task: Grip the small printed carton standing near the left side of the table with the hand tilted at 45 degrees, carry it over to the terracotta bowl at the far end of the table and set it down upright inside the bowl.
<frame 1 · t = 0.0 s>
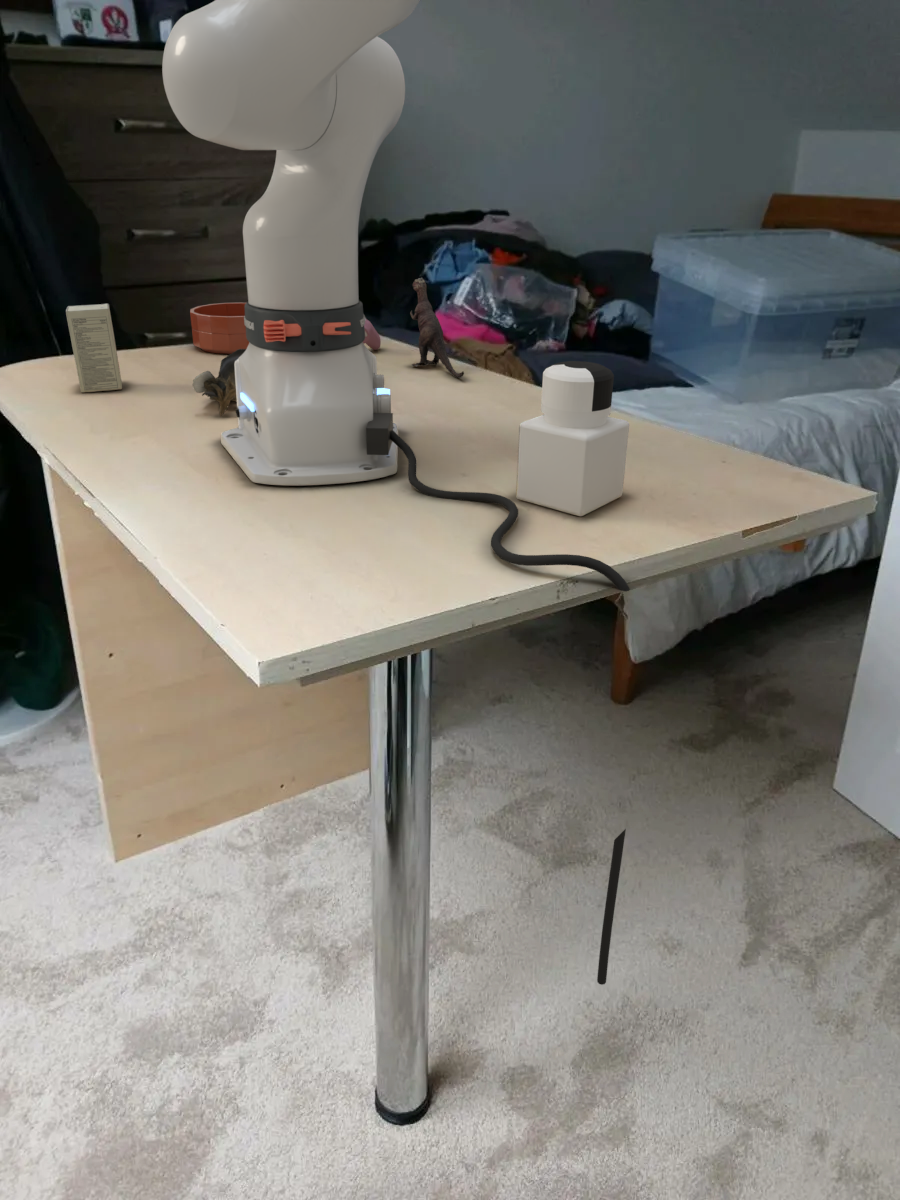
medicine bottle: (569, 500, 86), on the table
bowl: (238, 346, 145), on the table
dinosaur model: (439, 372, 131), on the table
printed carton: (101, 389, 120), on the table
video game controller: (346, 351, 143), on the table
eagle figurine: (231, 409, 113), on the table
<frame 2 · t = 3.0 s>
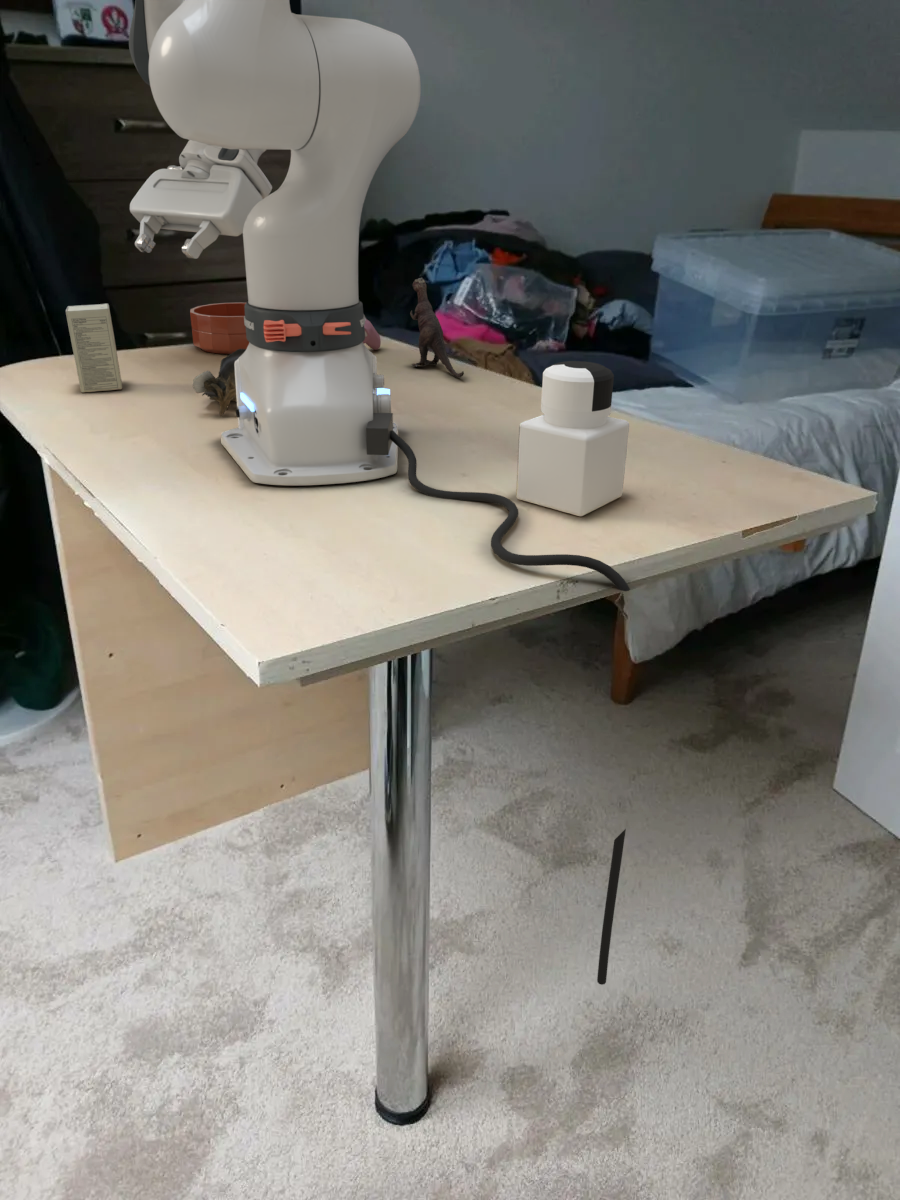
hand: (164, 252, 123), 15 cm above the table, tool tilted 45°, fingers open, 8 cm apart
nothing on the table moved.
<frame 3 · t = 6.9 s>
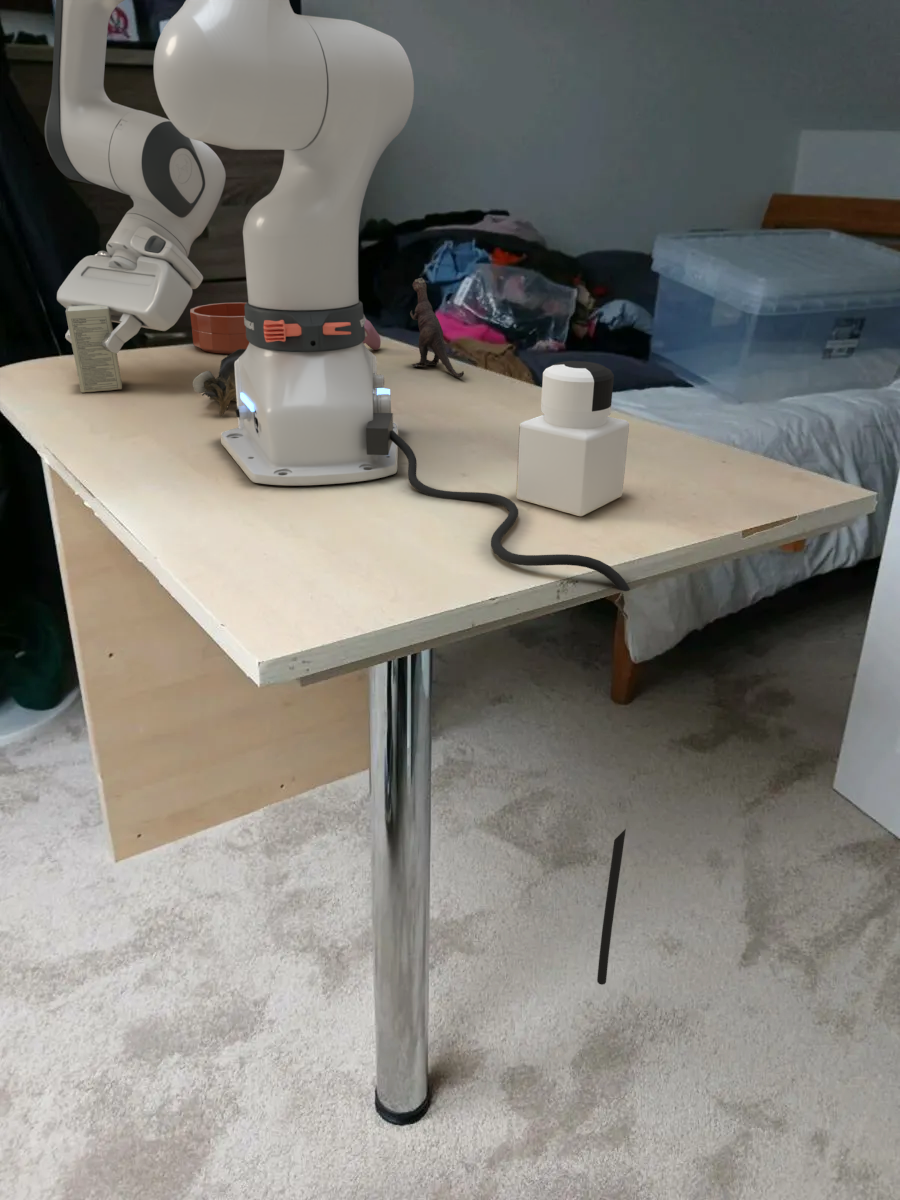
hand: (90, 345, 118), 5 cm above the table, tool tilted 45°, fingers closed on printed carton, 6 cm apart
printed carton: (101, 389, 120), on the table, touching gripper
everything else where it was.
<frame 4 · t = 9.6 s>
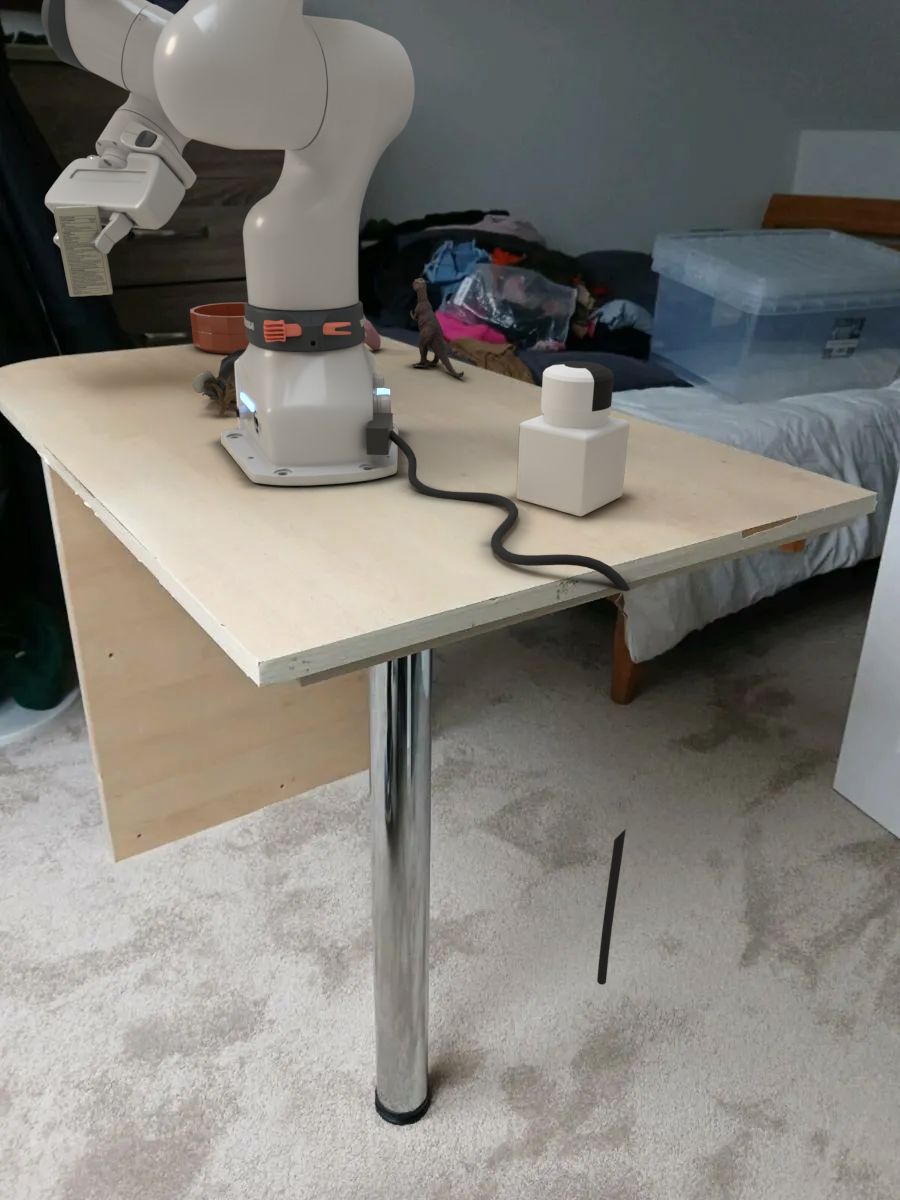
hand: (79, 247, 113), 17 cm above the table, tool tilted 45°, fingers closed on printed carton, 6 cm apart
printed carton: (91, 295, 116), point 11 cm above the table, touching gripper
everything else where it was.
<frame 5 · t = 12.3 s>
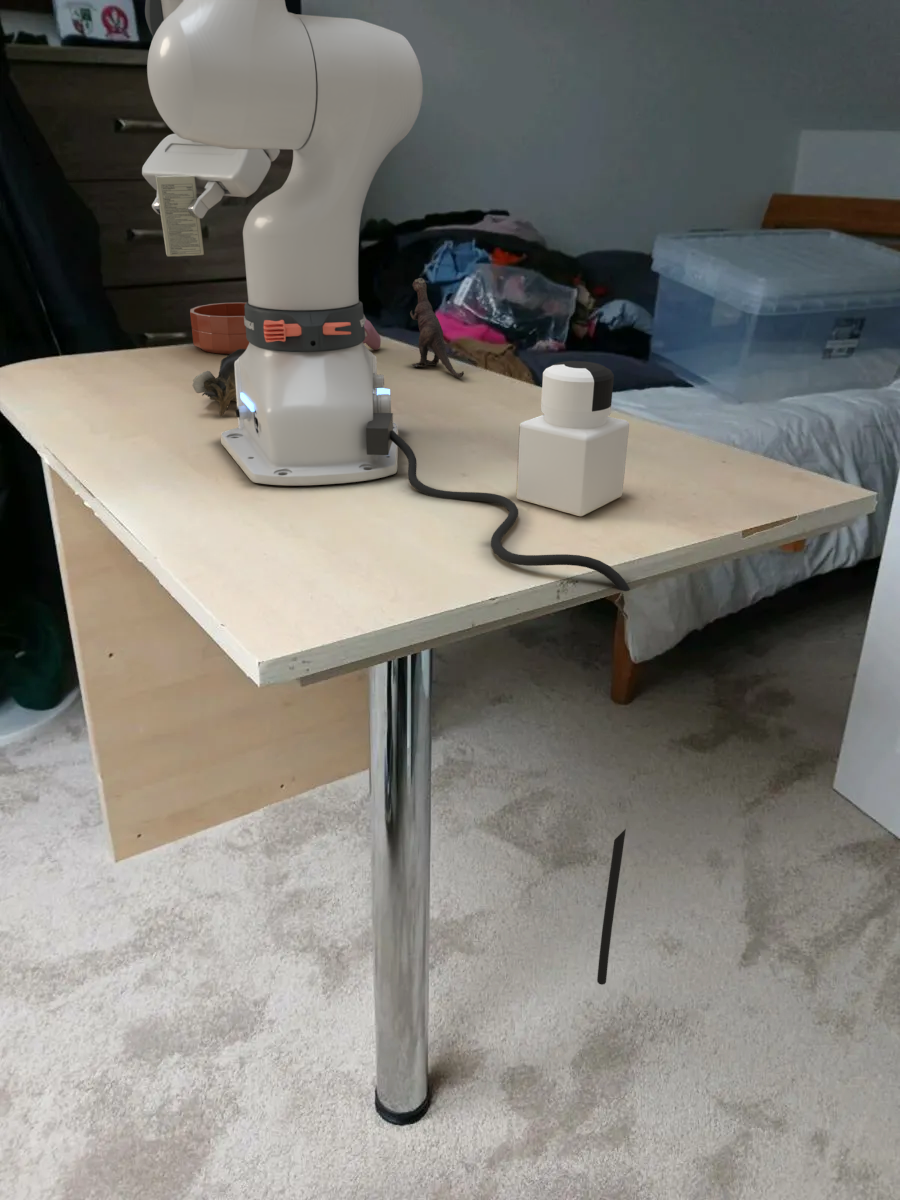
hand: (176, 213, 128), 20 cm above the table, tool tilted 45°, fingers closed on printed carton, 6 cm apart
printed carton: (184, 256, 131), point 14 cm above the table, touching gripper
everything else where it was.
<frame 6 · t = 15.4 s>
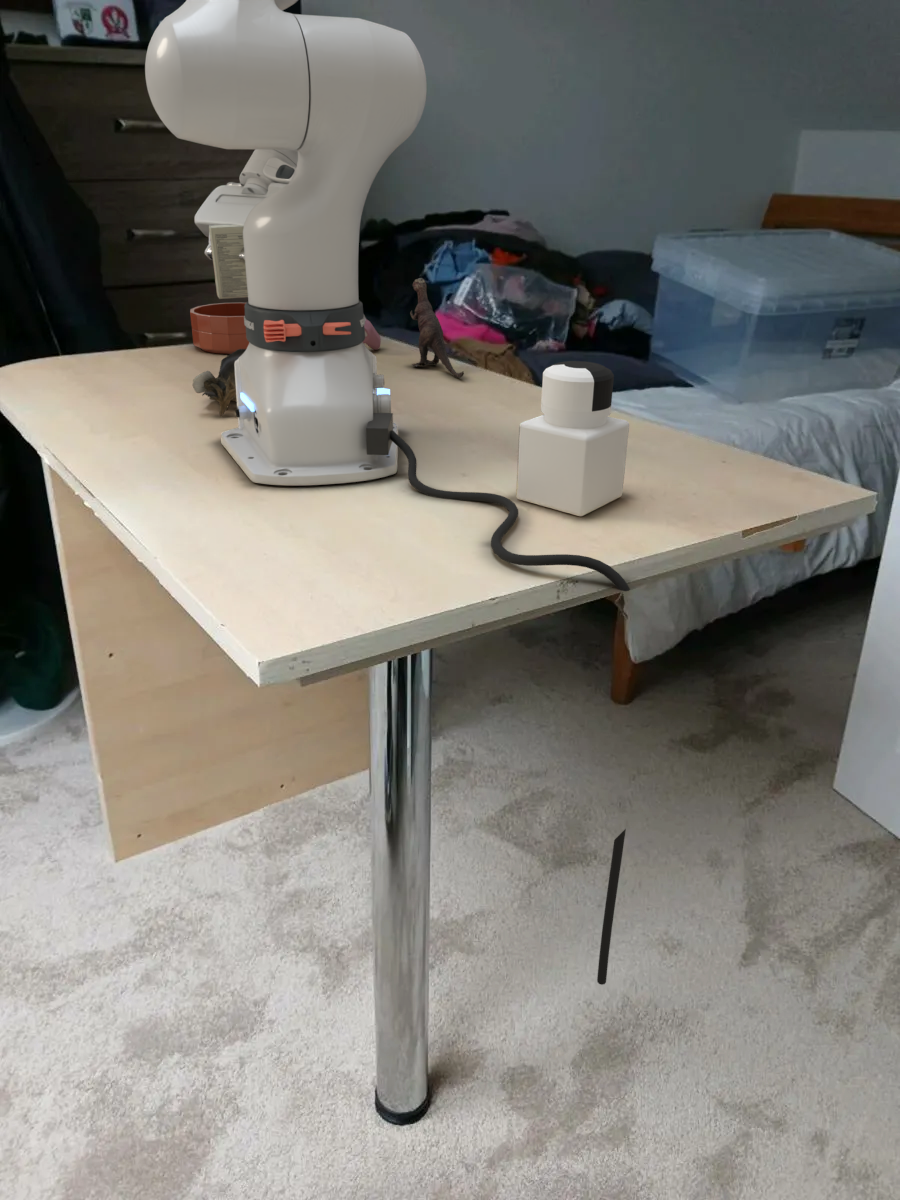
hand: (227, 259, 139), 13 cm above the table, tool tilted 45°, fingers closed on printed carton, 6 cm apart
printed carton: (233, 298, 142), point 7 cm above the table, touching gripper
everything else where it was.
when the fingers open (6 cm above the table, at t = 17.9 s): printed carton stays where it is, resting on bowl.
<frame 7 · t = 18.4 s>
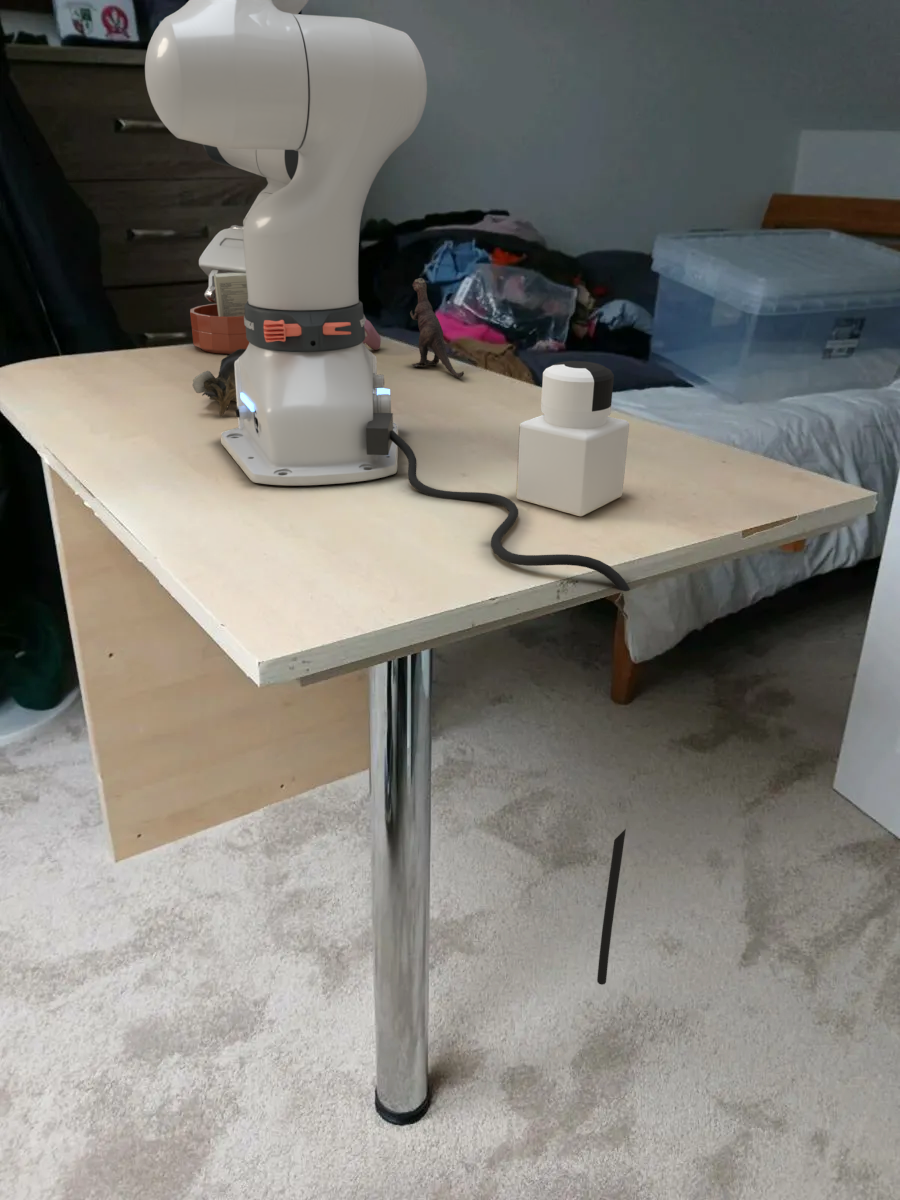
hand: (231, 302, 142), 7 cm above the table, tool tilted 45°, fingers open, 8 cm apart
printed carton: (237, 343, 145), resting on bowl
everything else where it was.
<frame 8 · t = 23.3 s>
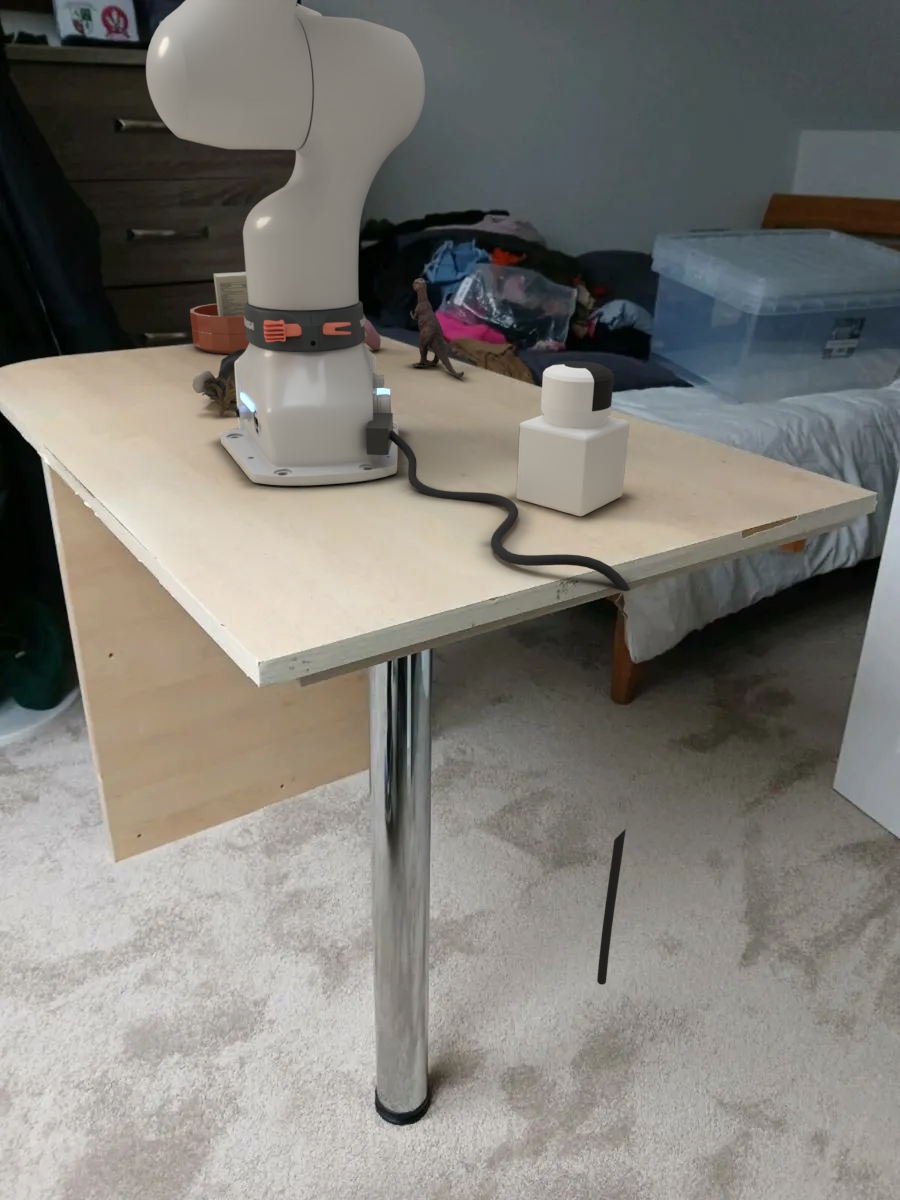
hand: (266, 136, 127), 29 cm above the table, tool pointing down, fingers open, 8 cm apart
nothing on the table moved.
at the end: printed carton inside the target area in the bowl (0.0 cm from its centre), point 0.4 cm above the bowl's base; the gripper is holding nothing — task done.
